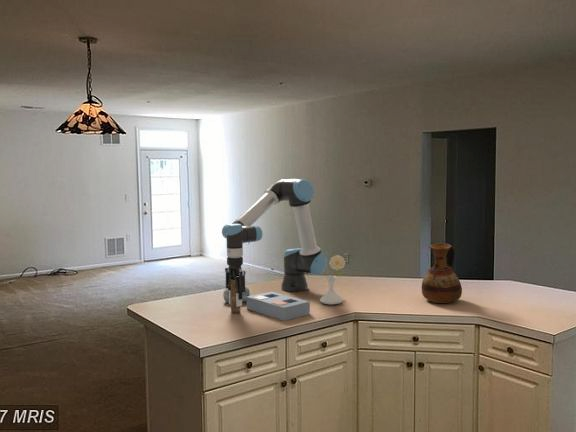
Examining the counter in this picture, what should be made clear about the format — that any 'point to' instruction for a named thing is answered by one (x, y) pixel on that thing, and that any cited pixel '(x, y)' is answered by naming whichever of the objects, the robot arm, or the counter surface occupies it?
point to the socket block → (278, 305)
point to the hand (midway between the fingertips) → (235, 304)
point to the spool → (244, 295)
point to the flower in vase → (331, 296)
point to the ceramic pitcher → (442, 276)
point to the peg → (234, 298)
